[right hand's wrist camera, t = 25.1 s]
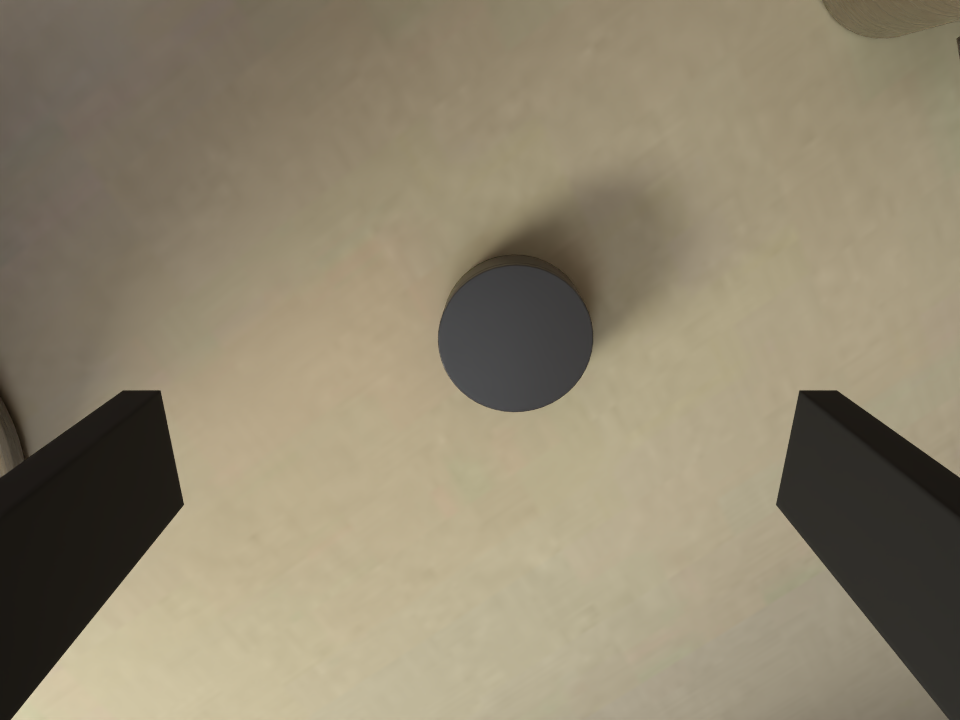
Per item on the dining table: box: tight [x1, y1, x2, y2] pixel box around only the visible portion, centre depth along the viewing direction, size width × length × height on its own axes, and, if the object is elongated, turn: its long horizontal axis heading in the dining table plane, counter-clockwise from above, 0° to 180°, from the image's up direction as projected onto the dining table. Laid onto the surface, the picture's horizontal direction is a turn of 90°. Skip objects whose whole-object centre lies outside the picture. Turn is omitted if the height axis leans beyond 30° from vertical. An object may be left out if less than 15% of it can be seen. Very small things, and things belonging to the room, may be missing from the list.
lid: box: [438, 255, 593, 412], centre depth 21 cm, size 5×5×2 cm
